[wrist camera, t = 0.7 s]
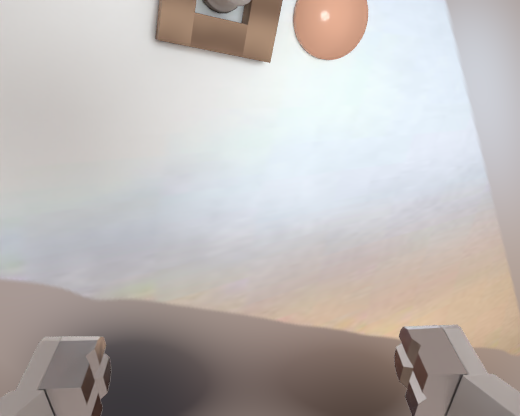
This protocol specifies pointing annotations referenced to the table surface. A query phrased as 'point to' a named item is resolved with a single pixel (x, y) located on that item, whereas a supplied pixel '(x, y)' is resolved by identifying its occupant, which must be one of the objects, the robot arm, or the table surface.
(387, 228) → the table surface
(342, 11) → the coaster
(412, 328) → the robot arm
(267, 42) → the socket block
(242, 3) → the rook chess piece
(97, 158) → the table surface
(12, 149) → the table surface
